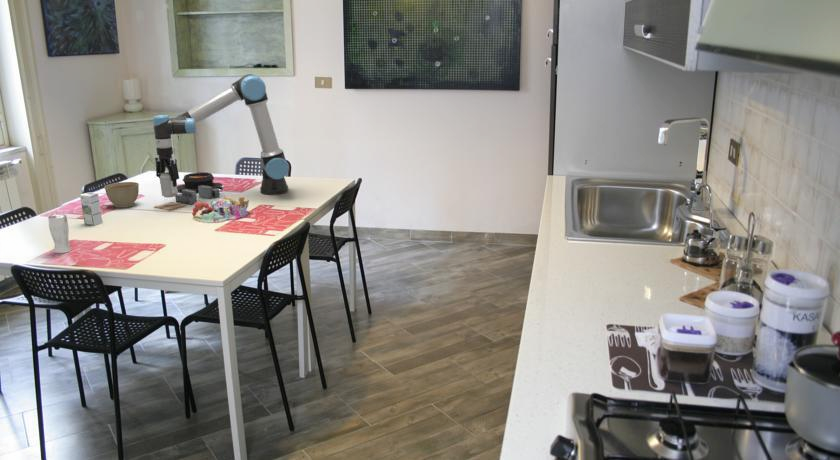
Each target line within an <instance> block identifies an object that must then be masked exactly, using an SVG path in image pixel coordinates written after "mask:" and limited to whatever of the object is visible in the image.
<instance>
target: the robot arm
mask: <svg viewBox="0 0 840 460" xmlns="http://www.w3.org/2000/svg"><path fill="white" fill-rule="evenodd" d="M268 100H269V98H268V94H267V90H266V83H265V81H264V80H263V79H262V78H261V77H259V76H257V75H256V74H252V73H249V74H245V75H244V76H241V77H240V78H239V79H237V80H236V81H234V82H233V83H231V84H230V87H228V88H226V89H224V90H223V91H222V92H220V93H217V94H216V95H214V96H213V97H210V98H208V99H207V100H205V101H203V102H202V103H200V104H198V105H197V106H195V107H193V108H191V109H189V110H187V111H186V112H183V113H182V114H178V115H177V116H176V118H170V116H169V115H168V114H159V115H155V116H153V119H152V121H153V132H154V138H155V146H156V155H157V157H155V158H154V160H155V176H156V177H157V178H159V179H160V176H161V173H164V172H166V169H167V172H169V174H170V177H171V179H172V180H171V189H172V193H177V194H178V189H177V186H178V183H177V180H179V179H180V174H179V170H178V165H177V163H178V162H177V159H174V158H173V154H174V150H173V147H172V146H173V140H172V135H185V134H186V135H187V134H188V135H189V134H195V133H196V131H197V130H196V125H198V123H200V122H202V121H204V120H206V119H207V118H209V117H210V116H212V115H214V114H216V113H217V112H218V113H219V112H220V111H221V110H224V109H225V108H227V107H228V106H231V105H232V104H234V103H236V102H237V101H241V102H242V101H244V104H245V106H246V107H248V108H249V109H250V113H251V117H252V120H253V123H254V127H255V131H256V133H257V137H258V140H259V143H260V146H261V151H260V162H261V173H262V174H261V175H262V179H261V186H260V188H259V189H260V193H261V195H270V196H271V195H281V194H285V193H288V192H289V186H288V184H287V181H286V176H287V175H288V172H289V169H290V168H289V163H288V161H287V160H286V157H285V153H284V149H282V148H280V146H279V143H278V139H277V136H276V132H275V130H274V126H273V123H272V118H271V116H270V111H269V109H268V106H267V102H268ZM173 177H174V178H173ZM159 183H160V182H159ZM160 185H161V183H160Z"/></svg>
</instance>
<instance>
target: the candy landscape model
mask: <svg viewBox="0 0 840 460" xmlns="http://www.w3.org/2000/svg"><path fill="white" fill-rule="evenodd" d="M249 203H250V201H249V200H245V197H244V196H240V197H239V198H238V201H237V200H235V199H233V198H232V197H229V196H226V197H223V198H220V199H219V198H218V200H217V201H216V200H215V201H213V202H212V203H211V206H210V205H209V203H208V202H205V203H203V202H201V201H197V202H196V203H195V204H194V207H193V208H192V213H191V214H192V217H193V218H192V219H193V220H194V221H196V222H198V223H199V222H200V223H207V224H219V223H224V222H226V221H235V219H237V220H240V219H243V218H244V217H246V216H247V215H248V214H249V213H250V211H249V210H247V209H248V207H249ZM199 211H201V212H200V213H198V212H199ZM197 213H198V214H197Z"/></svg>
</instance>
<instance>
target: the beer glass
mask: <svg viewBox="0 0 840 460" xmlns="http://www.w3.org/2000/svg"><path fill="white" fill-rule="evenodd" d="M47 218H48V227H49V231H50V234H51V237H52V240H53V244H54V253H55V254H59V253H60V254H66V252H67V253H70V252H71V251H72V248H71V246H70V245H71V244H70V242H69V241H70V240H69V233H70V232H69V231H70V230H69V223H68V218H67V215H66V214H64V213H59V214H57V213H56V214H52V215H49V216H48V217H47ZM69 251H70V252H69Z"/></svg>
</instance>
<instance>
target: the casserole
mask: <svg viewBox="0 0 840 460" xmlns="http://www.w3.org/2000/svg"><path fill="white" fill-rule="evenodd" d="M214 179H215V177H214V175H213V173H211V172H200V171H199V172H192V173H186V174H184V176H183V179H182V182H183V183H184V184H180V185H177V191H181V190H185V189H187V190H193V191H196V193H199V192H198V186H201V185H204V186H210V187H213V188H216V189H217V188H218V189H220V188H221V187H222V186H223V184H222V183H221V182H214Z"/></svg>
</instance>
